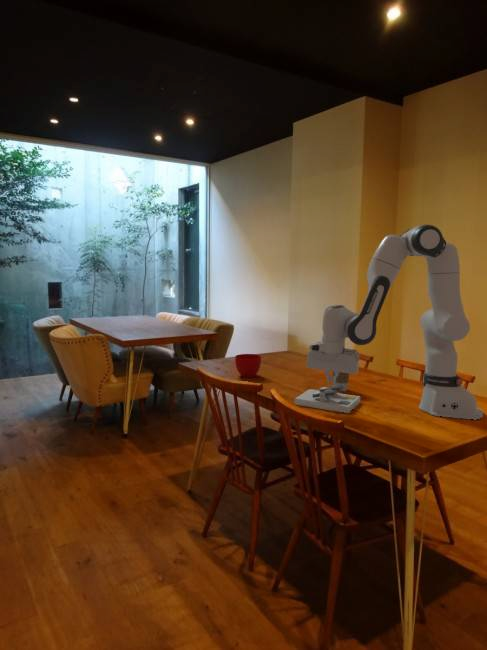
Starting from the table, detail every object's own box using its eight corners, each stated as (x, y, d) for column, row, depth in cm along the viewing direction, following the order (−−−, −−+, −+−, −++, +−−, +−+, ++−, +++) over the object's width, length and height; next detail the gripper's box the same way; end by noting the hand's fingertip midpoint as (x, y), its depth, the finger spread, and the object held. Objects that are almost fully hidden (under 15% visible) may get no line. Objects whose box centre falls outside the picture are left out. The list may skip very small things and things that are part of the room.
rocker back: (343, 388, 188) (342, 385, 188) (340, 390, 184) (339, 387, 184) (322, 390, 192) (322, 387, 192) (319, 392, 189) (319, 389, 189)
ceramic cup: (262, 371, 240) (262, 352, 239) (260, 379, 224) (260, 359, 222) (237, 370, 242) (237, 352, 240) (233, 378, 225) (233, 358, 224)
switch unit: (360, 402, 187) (360, 388, 186) (348, 413, 173) (349, 398, 172) (309, 394, 198) (309, 381, 197) (294, 404, 184) (295, 390, 183)
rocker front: (337, 392, 181) (336, 389, 181) (334, 395, 177) (333, 391, 177) (316, 395, 185) (315, 392, 185) (312, 397, 182) (312, 394, 182)
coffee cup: (336, 392, 201) (337, 359, 199) (327, 387, 209) (328, 355, 207) (353, 391, 203) (354, 358, 201) (344, 386, 211) (345, 354, 209)
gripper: (361, 348, 175) (359, 384, 177) (311, 343, 185) (310, 376, 187) (357, 351, 170) (355, 387, 171) (305, 345, 179) (304, 379, 181)
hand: (331, 381), depth 179 cm, fingers closed
